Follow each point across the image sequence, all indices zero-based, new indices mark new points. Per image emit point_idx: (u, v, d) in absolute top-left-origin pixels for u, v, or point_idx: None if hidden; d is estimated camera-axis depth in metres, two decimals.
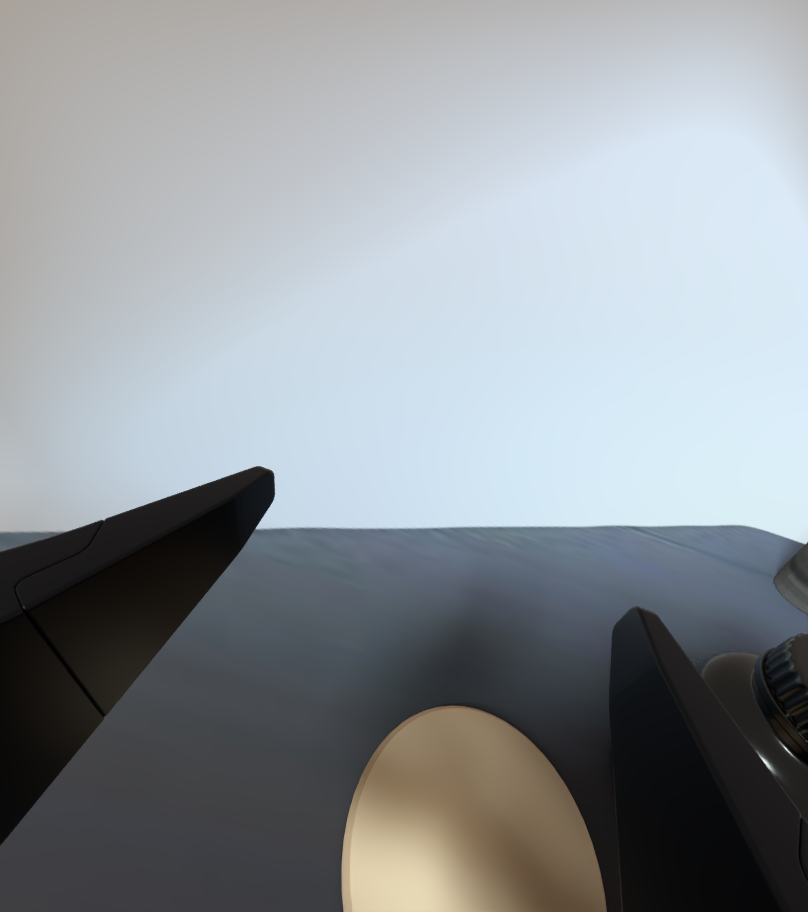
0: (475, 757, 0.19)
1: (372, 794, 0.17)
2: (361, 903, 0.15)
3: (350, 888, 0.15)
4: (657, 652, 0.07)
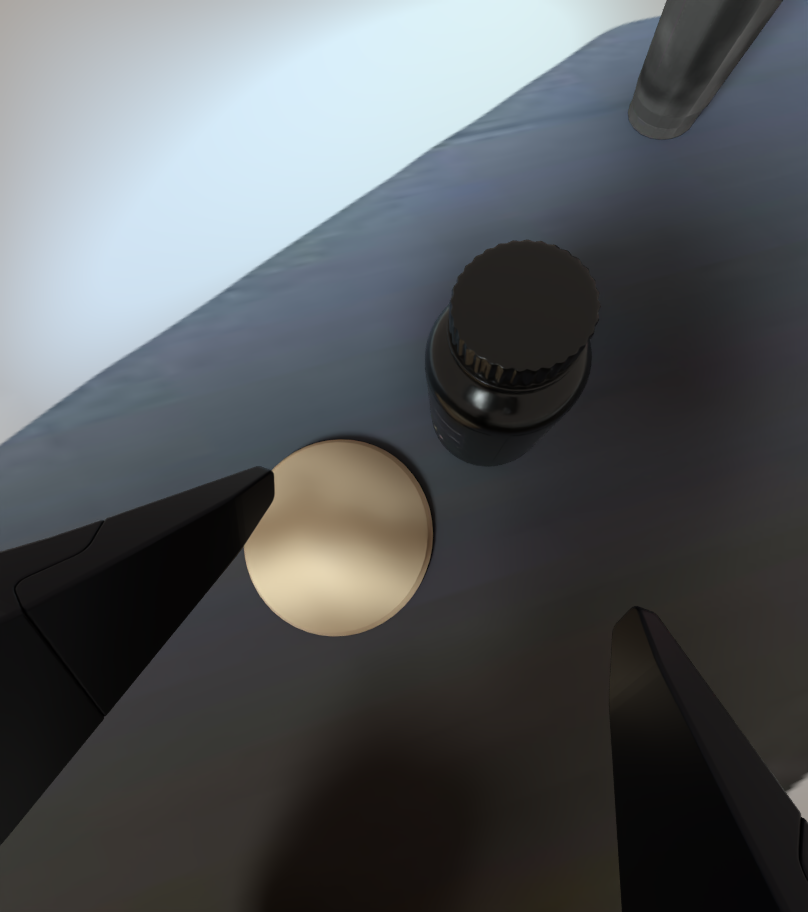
0: (318, 479, 0.23)
1: (252, 541, 0.23)
2: (268, 594, 0.22)
3: (259, 591, 0.22)
4: (657, 652, 0.07)
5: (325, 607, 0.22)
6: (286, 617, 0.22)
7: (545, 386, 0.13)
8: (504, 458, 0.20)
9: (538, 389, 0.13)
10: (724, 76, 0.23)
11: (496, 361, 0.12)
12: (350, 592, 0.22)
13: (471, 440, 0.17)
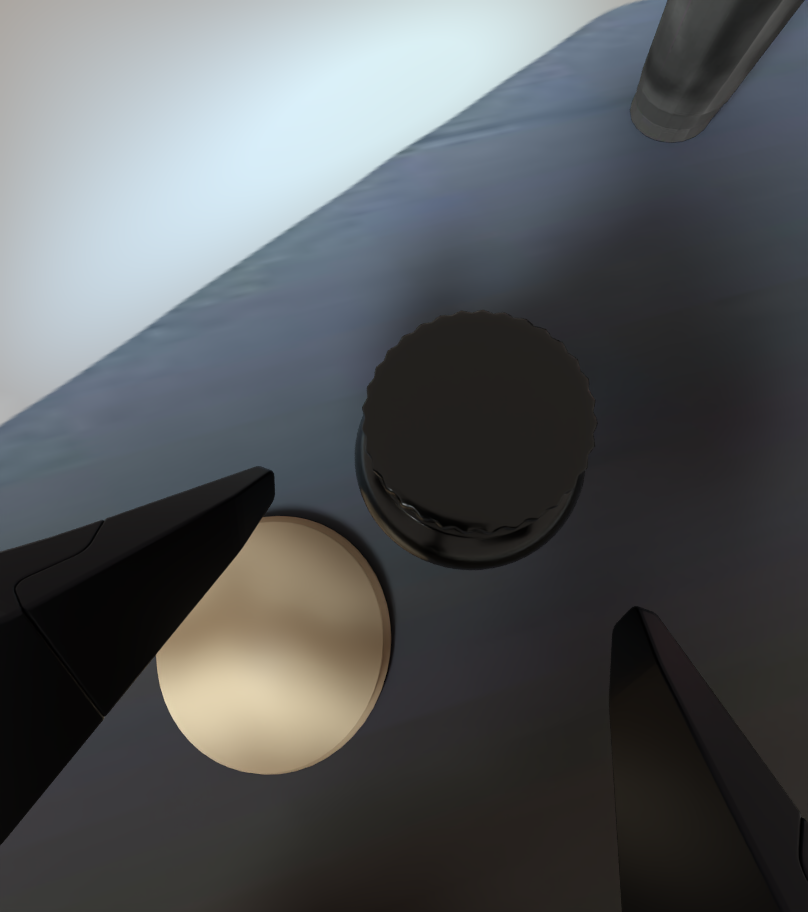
0: (249, 569, 0.19)
1: (165, 649, 0.18)
2: (182, 720, 0.18)
3: (172, 715, 0.18)
4: (657, 652, 0.07)
5: (253, 739, 0.17)
6: (204, 751, 0.17)
7: (514, 531, 0.09)
8: None
9: (503, 535, 0.09)
10: (751, 64, 0.18)
11: (430, 513, 0.07)
12: (285, 719, 0.17)
13: None
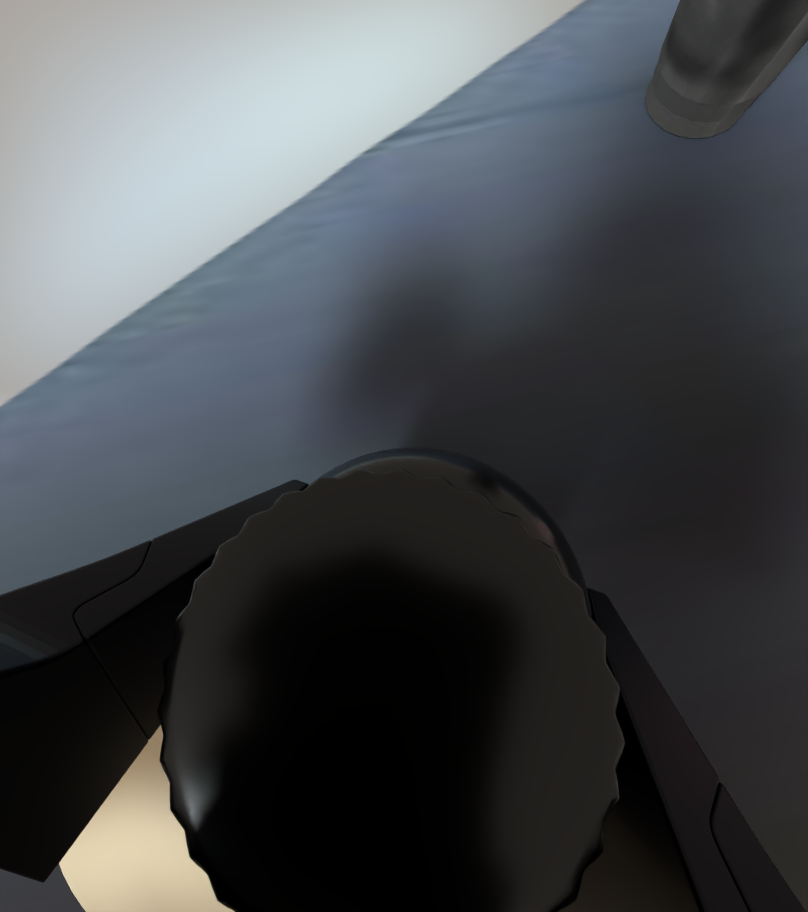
0: None
1: None
2: (76, 879, 0.14)
3: (64, 871, 0.14)
4: None
5: (163, 909, 0.13)
6: None
7: None
8: None
9: None
10: (805, 37, 0.14)
11: None
12: (203, 884, 0.13)
13: None
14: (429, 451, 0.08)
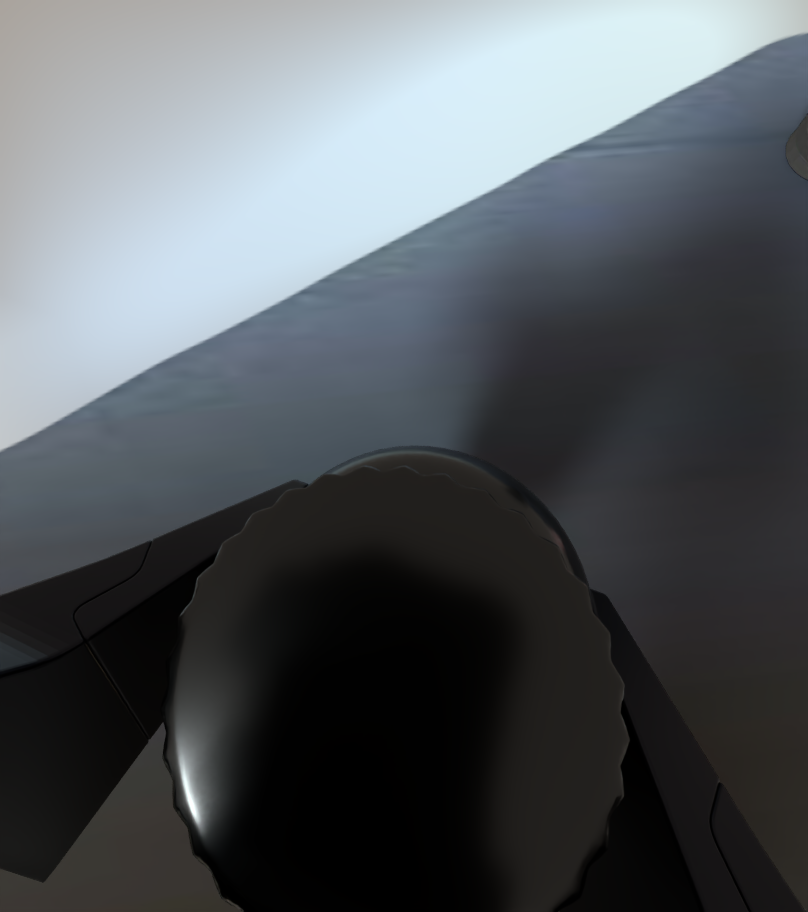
0: None
1: None
2: None
3: None
4: None
5: None
6: None
7: None
8: None
9: None
10: None
11: None
12: None
13: None
14: (431, 449, 0.08)
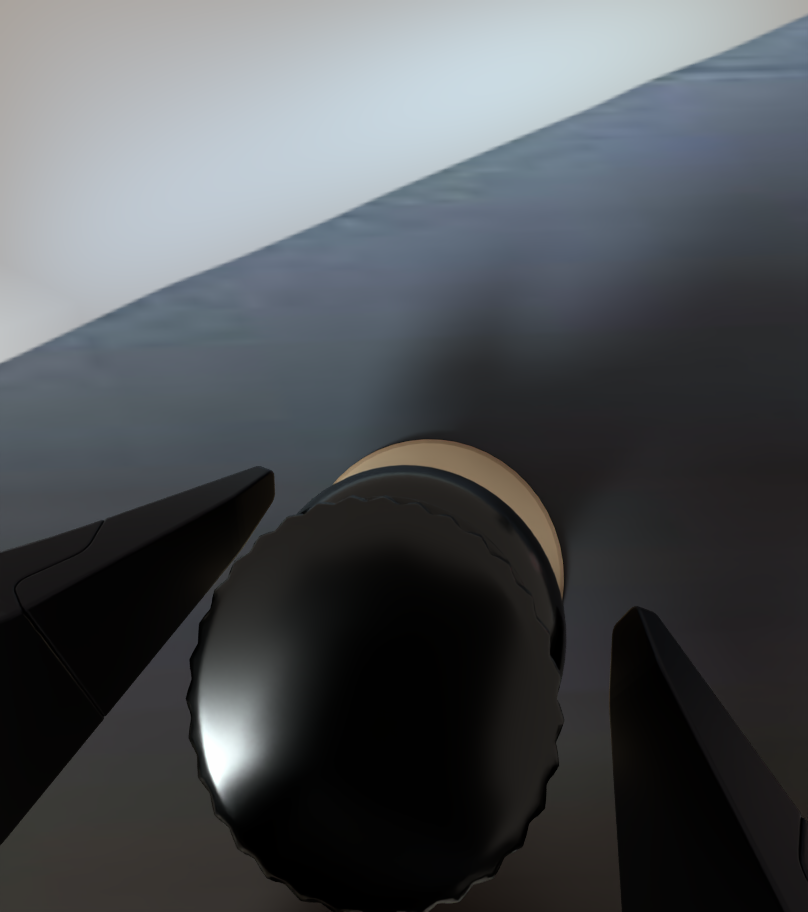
0: None
1: None
2: None
3: None
4: (657, 652, 0.07)
5: None
6: None
7: None
8: None
9: None
10: None
11: (281, 873, 0.04)
12: None
13: None
14: (418, 469, 0.08)
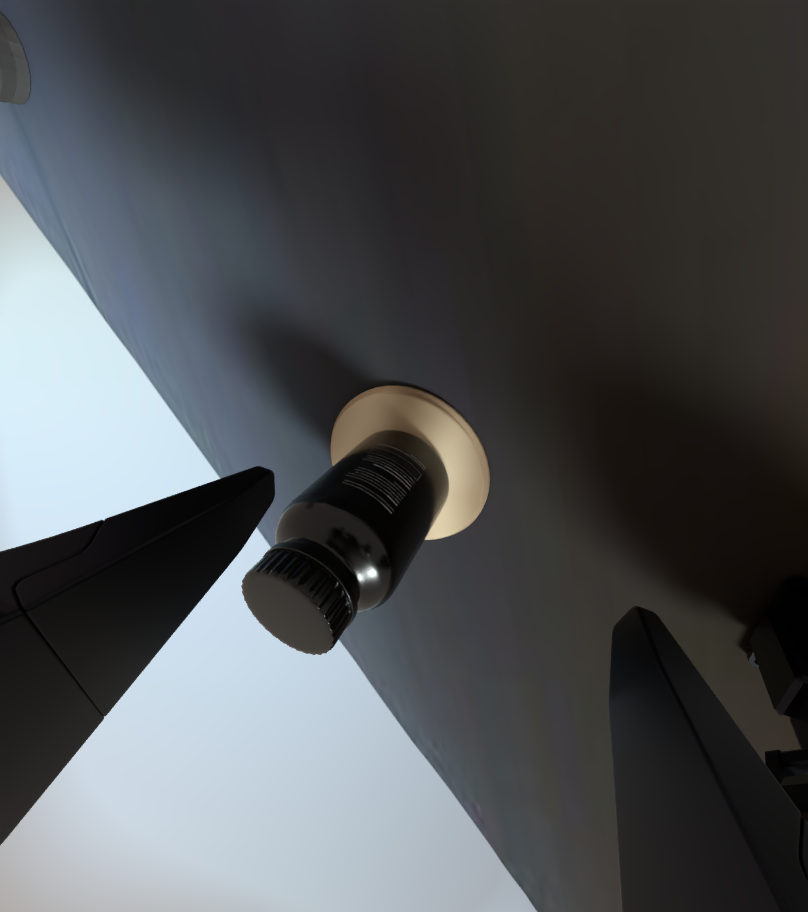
0: None
1: None
2: (444, 532, 0.26)
3: (442, 537, 0.27)
4: (657, 652, 0.07)
5: (459, 494, 0.24)
6: (464, 524, 0.25)
7: (343, 584, 0.16)
8: (433, 492, 0.21)
9: (347, 588, 0.16)
10: None
11: (329, 642, 0.15)
12: (449, 472, 0.24)
13: (413, 557, 0.20)
14: None
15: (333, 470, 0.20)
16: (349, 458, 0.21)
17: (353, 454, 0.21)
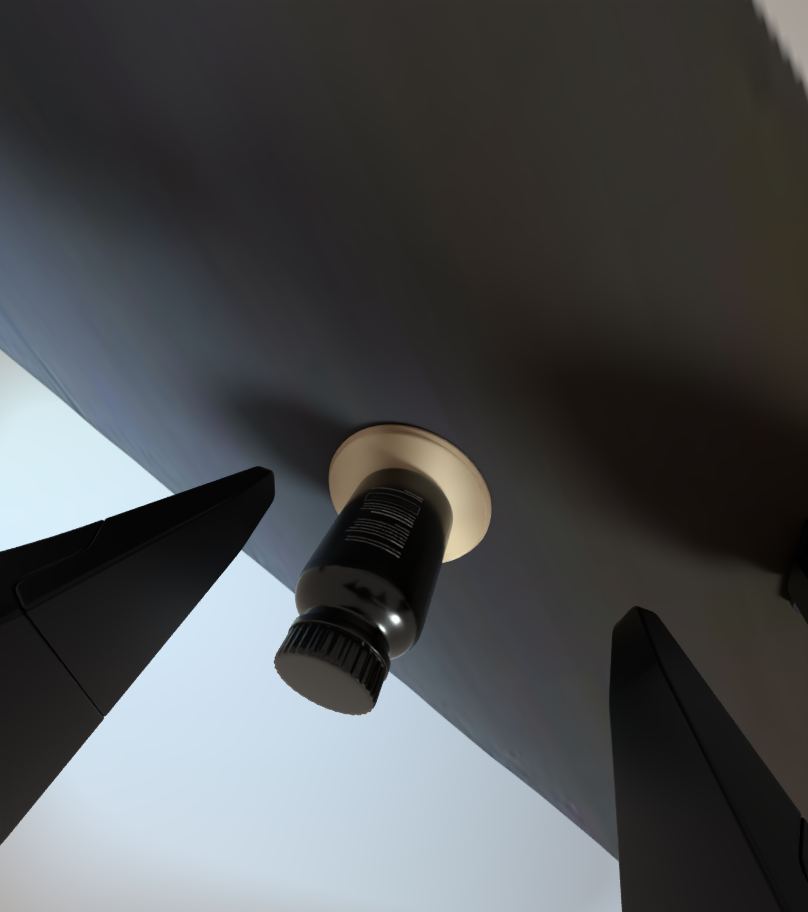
0: None
1: None
2: (460, 551, 0.26)
3: (459, 556, 0.27)
4: (657, 652, 0.07)
5: (464, 513, 0.24)
6: (476, 540, 0.25)
7: (369, 642, 0.16)
8: (436, 521, 0.22)
9: (373, 645, 0.16)
10: None
11: (370, 701, 0.16)
12: (448, 495, 0.24)
13: (432, 591, 0.20)
14: None
15: (335, 527, 0.20)
16: (347, 510, 0.21)
17: (350, 505, 0.22)
